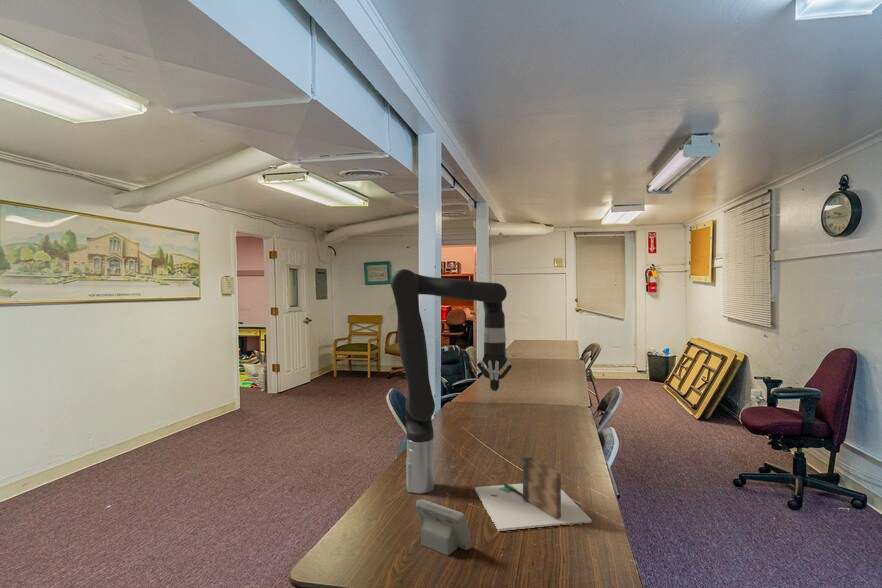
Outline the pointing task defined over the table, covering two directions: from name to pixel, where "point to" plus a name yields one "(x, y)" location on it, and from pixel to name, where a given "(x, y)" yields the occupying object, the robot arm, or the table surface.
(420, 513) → the digital clock
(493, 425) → the table surface
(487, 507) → the thin white panel
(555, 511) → the wooden board with post
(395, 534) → the table surface
